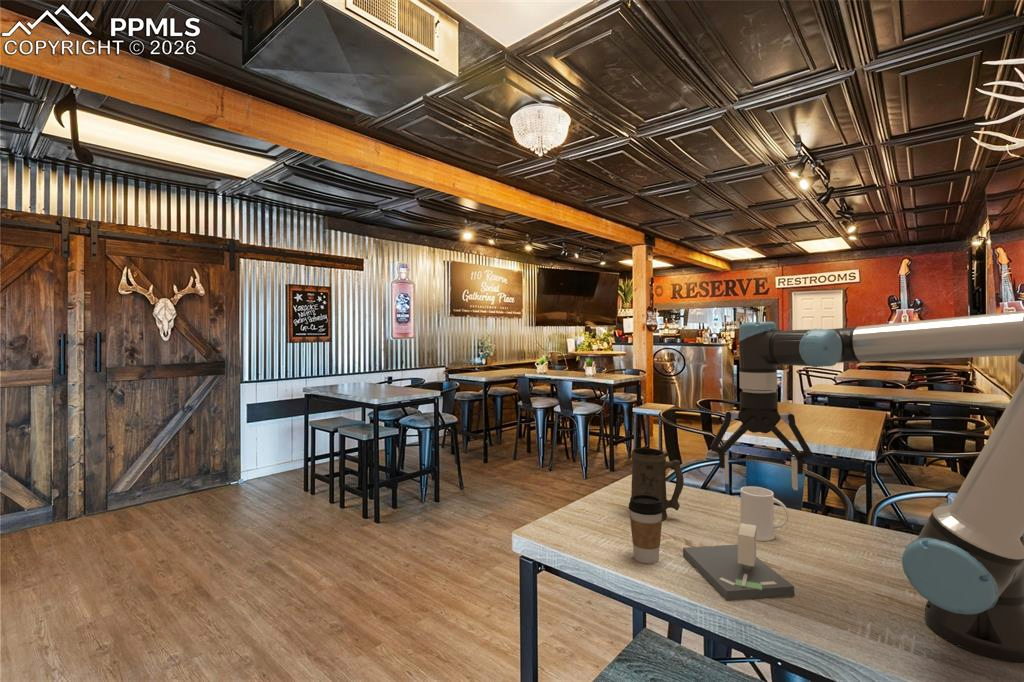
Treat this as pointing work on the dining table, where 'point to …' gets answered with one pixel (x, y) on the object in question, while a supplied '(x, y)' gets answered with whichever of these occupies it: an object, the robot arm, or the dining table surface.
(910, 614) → the dining table surface
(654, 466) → the beer stein
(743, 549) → the peg
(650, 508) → the coffee cup
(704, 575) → the tuner board
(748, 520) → the mug
